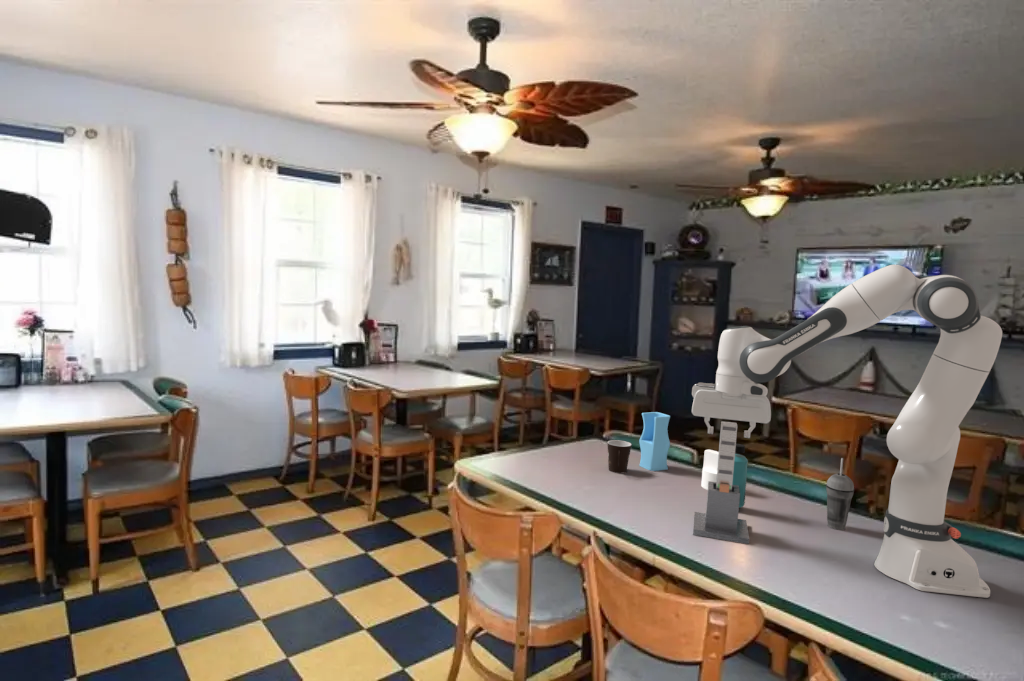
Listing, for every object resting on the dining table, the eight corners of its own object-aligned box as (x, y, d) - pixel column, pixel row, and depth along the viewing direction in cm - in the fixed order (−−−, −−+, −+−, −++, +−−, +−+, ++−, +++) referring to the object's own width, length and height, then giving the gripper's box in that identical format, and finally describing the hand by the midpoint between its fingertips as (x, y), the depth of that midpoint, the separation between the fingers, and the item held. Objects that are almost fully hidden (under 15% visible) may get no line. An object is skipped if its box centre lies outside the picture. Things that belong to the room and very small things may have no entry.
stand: (745, 525, 168) (749, 477, 167) (748, 544, 155) (753, 493, 154) (694, 516, 173) (698, 470, 172) (693, 534, 160) (697, 484, 158)
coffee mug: (612, 465, 221) (613, 439, 220) (633, 470, 216) (635, 443, 215) (597, 472, 211) (599, 444, 211) (619, 477, 206) (621, 449, 206)
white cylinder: (695, 485, 202) (698, 451, 201) (711, 481, 208) (714, 448, 207) (718, 493, 195) (721, 458, 194) (734, 489, 200) (737, 454, 199)
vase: (637, 465, 223) (641, 412, 221) (653, 463, 227) (657, 411, 225) (651, 471, 216) (655, 417, 214) (668, 469, 220) (672, 416, 218)
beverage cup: (823, 528, 169) (830, 460, 167) (820, 520, 176) (826, 454, 174) (852, 533, 166) (860, 464, 165) (847, 524, 173) (854, 457, 172)
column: (729, 500, 165) (736, 423, 163) (730, 505, 161) (737, 426, 159) (714, 498, 166) (721, 421, 164) (714, 503, 162) (721, 424, 160)
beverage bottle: (746, 513, 178) (752, 448, 176) (722, 510, 179) (728, 446, 177) (742, 506, 184) (747, 443, 183) (719, 503, 186) (725, 440, 184)
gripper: (692, 383, 161) (688, 433, 162) (773, 390, 155) (769, 442, 156) (692, 380, 167) (689, 428, 168) (771, 387, 160) (767, 437, 162)
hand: (728, 435), depth 162 cm, fingers open, 8 cm apart
